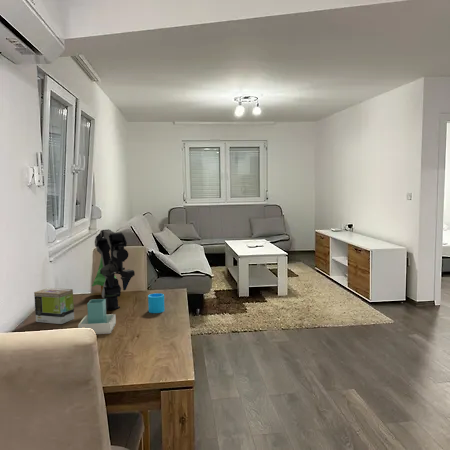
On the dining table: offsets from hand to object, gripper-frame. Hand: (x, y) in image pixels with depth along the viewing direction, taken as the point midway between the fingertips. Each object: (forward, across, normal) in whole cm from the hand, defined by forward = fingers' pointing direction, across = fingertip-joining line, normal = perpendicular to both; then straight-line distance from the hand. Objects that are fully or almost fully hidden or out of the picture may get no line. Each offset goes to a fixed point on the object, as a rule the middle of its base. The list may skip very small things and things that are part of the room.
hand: (117, 289), depth 215 cm
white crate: (+13, +8, -20) cm, 25 cm away
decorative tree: (+13, -37, +24) cm, 46 cm away
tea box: (+13, -20, -22) cm, 33 cm away
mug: (+13, +10, +16) cm, 23 cm away
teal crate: (+12, +8, -20) cm, 25 cm away
